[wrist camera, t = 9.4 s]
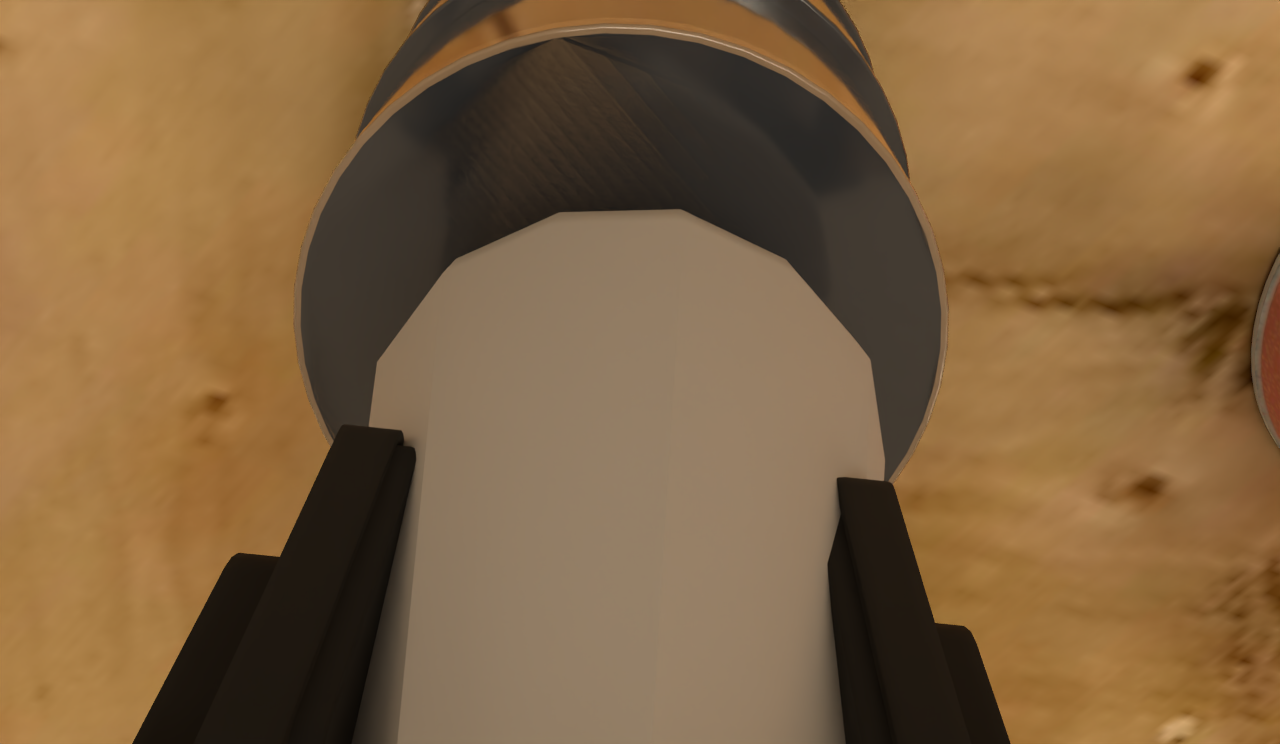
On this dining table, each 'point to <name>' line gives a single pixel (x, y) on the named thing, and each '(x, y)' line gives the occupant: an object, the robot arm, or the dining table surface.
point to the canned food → (1268, 353)
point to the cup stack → (626, 172)
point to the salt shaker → (618, 493)
